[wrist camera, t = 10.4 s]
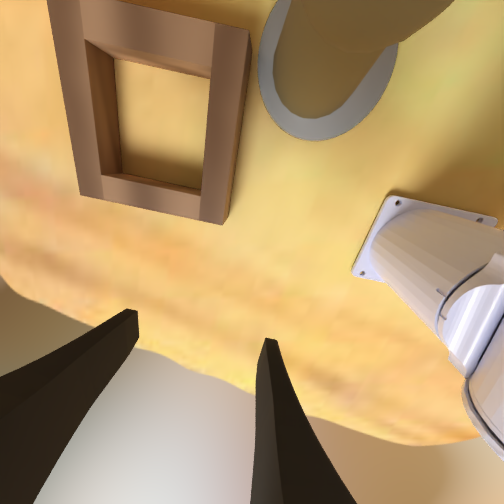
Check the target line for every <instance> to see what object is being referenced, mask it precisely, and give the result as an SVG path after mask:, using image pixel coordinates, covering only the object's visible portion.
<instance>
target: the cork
mask: <svg viewBox="0 0 504 504" xmlns="http://www.w3.org/2000/svg"><path fill="white" fill-rule="evenodd" d="M453 1H454V0H291V4H290V7H289V10H288V13H287V16H286V19H285V22H284V25H283V28H282V31H281V34H280V37H279V40H278V44H277V47H276V50H275V53H274V59H273V72H272V74H273V79H274V85H275V90H276V92H277V94H278V96H279V98H280V100H281V102H282V104H283V105H284V106H285V107H286V108H287V109H288V110H289V111H290V112H291V113H293V114H295V115H297V116H299V117H301V118H307V119H318V118H321V117H324V116H327V115H330V114H331V113H333V112H334V111H336V110H337V109H338V108H340V107H341V106H342V105H343V104H344V103H345V102H346V101H347V99H348V98H349V97H350V96H351V95H352V94H353V92H354V91H355V89H356V88H357V87H358V85H359V84H360V83H361V81H362V80H363V78H364V77H365V76H366V74H367V73H368V72H369V70H370V69H371V67H372V66H373V65H374V63H375V62H376V61H377V59H378V58H379V56H380V55H381V54H382V52H383V51H384V50H385V48H386V47H388V46H390V45H393V44H396V43H399V42H401V41H404V40H405V39H407V38H408V37H410V36H411V35H412V34H414V33H415V32H416V31H418V30H419V29H421V28H422V27H423V26H425V25H426V24H427V23H429V22H430V21H432V20H433V19H434V18H435V17H437V16H438V15H439V14H440V13H441V12H443V11H444V10H445V9H446V8H447V7H449V6H450V5H451V3H452V2H453Z"/></svg>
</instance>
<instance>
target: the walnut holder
mask: <svg viewBox="0 0 504 504" xmlns="http://www.w3.org/2000/svg"><path fill="white" fill-rule="evenodd" d="M47 5H48V11H49V17H50V22H51V28H52V34H53V40H54V46H55V51H56V57H57V63H58V69H59V74H60V80H61V86H62V92H63V98H64V103H65V109H66V115H67V121H68V126H69V132H70V138H71V144H72V150H73V155H74V161H75V167H76V173H77V178H78V184H79V190H80V195H82V196H87V197H92V198H96V199H101V200H106V201H110V202H115V203H120V204H124V205H129V206H134V207H138V208H143V209H148V210H152V211H157V212H162V213H166V214H171V215H176V216H180V217H185V218H190V219H194V220H199V221H204V222H209V223H213V224H218V225H223V224H224V222H225V221H226V220H227V218H228V213H229V207H230V200H231V193H232V186H233V180H234V173H235V166H236V159H237V152H238V146H239V139H240V132H241V125H242V119H243V112H244V105H245V98H246V92H247V85H248V78H249V71H250V64H251V58H252V46H251V40H250V33H249V30H246V29H241V28H237V27H233V26H228V25H224V24H219V23H215V22H210V21H206V20H201V19H197V18H193V17H188V16H184V15H179V14H175V13H170V12H166V11H161V10H157V9H153V8H148V7H144V6H139V5H135V4H130V3H126V2H122V1H117V0H47ZM113 58H117V59H122V60H126V61H131V62H135V63H140V64H144V65H149V66H153V67H158V68H162V69H167V70H171V71H176V72H180V73H185V74H189V75H194V76H198V77H203V78H207V79H210V91H209V103H208V115H207V127H206V139H205V151H204V163H203V175H202V187H201V190H199V189H194V188H189V187H185V186H180V185H175V184H171V183H166V182H162V181H157V180H152V179H148V178H143V177H138V176H134V175H129V174H124V173H122V163H121V150H120V138H119V125H118V113H117V100H116V88H115V75H114V63H113Z"/></svg>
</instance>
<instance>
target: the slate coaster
mask: <svg viewBox="0 0 504 504" xmlns="http://www.w3.org/2000/svg"><path fill="white" fill-rule="evenodd" d="M290 4H291V0H278V1H277V2H276V4H275V6H274V8H273V9H272V11H271V13H270V15H269V18H268V20H267V22H266V25H265V27H264V31H263V34H262V37H261V42H260V47H259V54H258V80H259V87H260V92H261V96H262V99H263V102H264V105H265V107H266V109H267V111H268V113H269V115H270V116H271V118H272V119H273V121H274V122H275V123H276V124H277V125H278V126H279V127H280V128H281V129H282V130H283V131H285V132H286V133H287V134H289V135H291V136H293V137H295V138H298V139H301V140H306V141H322V140H327V139H331V138H334V137H337V136H339V135H341V134H343V133H345V132H347V131H349V130H350V129H352V128H353V127H355V126H356V125H357V124H358V123H360V122H361V121H362V120H363V119H364V118H365V117H366V116H367V115H368V114H369V113H370V111H371V110H372V109H373V108H374V107H375V105H376V104H377V102H378V101H379V99H380V98H381V96H382V94H383V93H384V91H385V89H386V87H387V85H388V82H389V80H390V78H391V75H392V72H393V69H394V65H395V61H396V56H397V49H398V43H396V44H393V45H390V46H388V47H386V48H385V50H384V51H383V52H382V54H381V55H380V56H379V58H378V59H377V61H376V62H375V63H374V65H373V66H372V67H371V69H370V70H369V72H368V73H367V74H366V76H365V77H364V78H363V80H362V81H361V83H360V84H359V85H358V87H357V88H356V89H355V91H354V92H353V94H352V95H351V96H350V97H349V98H348V99H347V101H346V102H345V103H344V104H343V105H342V106H341V107H340V108H338V109H337V110H336V111H334V112H333V113H331V114H330V115H327V116H324V117H321V118H318V119H307V118H301V117H299V116H297V115H295V114H293V113H291V112H290V111H289V110H288V109H287V108H286V107H285V106H284V105H283V104H282V102H281V100H280V98H279V96H278V94H277V92H276V90H275V85H274V79H273V74H272V72H273V59H274V53H275V50H276V47H277V44H278V40H279V37H280V34H281V31H282V28H283V25H284V22H285V19H286V16H287V13H288V10H289V7H290Z"/></svg>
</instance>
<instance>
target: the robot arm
mask: <svg viewBox="0 0 504 504" xmlns="http://www.w3.org/2000/svg"><path fill="white" fill-rule="evenodd" d="M397 200H399V203H398V204H397V205H395V203H396V201H397ZM478 218H479V220H478V221H477V219H478ZM476 221H477V222H476ZM497 223H498V219H497V218H495V217H492V216H487V215H483V214H478V213H473V212H469V211H464V210H460V209H455V208H451V207H446V206H441V205H437V204H432V203H428V202H423V201H418V200H414V199H409V198H405V197H400V196H395V195H390V196H388V197H387V198H386V199H385V200H384V203H383V205H382V207H381V209H380V211H379V213H378V215H377V217H376V219H375V221H374V223H373V226H372V228H371V230H370V232H369V234H368V236H367V238H366V240H365V242H364V244H363V246H362V249H361V251H360V253H359V255H358V257H357V259H356V261H355V263H354V265H353V267H352V269H351V273H352V274H353V276H356V277H361V278H365V279H370V280H375V281H379V282H384V283H387V284H388V286H389V287H390V288H391V289H392V290H393V291H394V292H395V293H396V294H397V295H398V296H399V297H400V298H401V299H402V300H403V301H404V302H405V303H406V304H407V305H408V307H409V308H410V309H411V310H412V311H413V312H414V313H415V314H416V315H417V316H418V317H419V318H420V319H421V320H422V321H423V322H424V323H425V324H426V325H427V326H428V328H429V329H430V330H431V331H432V332H433V333H434V334H435V335H436V336H437V337H438V338H439V339H440V340H441V341H442V342H443V343H444V344H445V345H446V347H447V348H448V350H449V358H448V360H449V361H450V362H451V363H452V364H453V365H454V366H455V368H456V369H457V370H458V371H459V372H460V373H461V374H462V375H463V376H464V378H465V380H464V383H463V385H462V390H461V396H462V401H463V405H464V408H465V410H466V413H467V415H468V417H469V418H470V420H471V422H472V424H473V425H474V427H475V428H476V430H477V431H478V432H479V434H480V435H481V436H482V438H483V439H484V440H485V442H486V443H487V444H488V445H489V446H490V447H491V448H492V450H493V451H494V452H495V453H496V454H497V455H498V456H499V457H500V458H501V459H502V460H503V461H504V230H501V229H498V228H494V227H495V226H496V224H497ZM362 271H364V272H363V273H362V274H360V272H362ZM138 338H139V326H138V311H136V310H131V309H125V310H123V311H122V312H120V313H118V314H117V315H115V316H113V317H112V318H110V319H109V320H107V321H105V322H104V323H102V324H100V325H99V326H97V327H95V328H94V329H92V330H90V331H89V332H87V333H85V334H84V335H82V336H80V337H79V338H77V339H75V340H73V341H71V342H70V343H68V344H66V345H64V346H62V347H61V348H59V349H57V350H55V351H53V352H51V353H50V354H48V355H46V356H44V357H42V358H40V359H38V360H36V361H33V362H32V363H29V364H27V365H26V366H23V367H21V368H19V369H17V370H15V371H13V372H10V373H8V374H6V375H3V376H1V377H0V504H33V503H34V501H35V499H36V497H37V495H38V494H39V492H40V490H41V488H42V487H43V485H44V483H45V481H46V480H47V478H48V476H49V475H50V473H51V471H52V469H53V468H54V466H55V464H56V462H57V460H58V459H59V457H60V456H61V454H62V452H63V451H64V449H65V447H66V446H67V444H68V442H69V441H70V439H71V438H72V436H73V434H74V432H75V431H76V429H77V428H78V426H79V425H80V423H81V421H82V420H83V418H84V417H85V415H86V414H87V412H88V410H89V408H91V406H92V405H93V403H94V402H95V400H96V399H97V398H98V396H99V395H100V394H101V392H102V391H103V389H104V388H105V387H106V385H107V384H108V383H109V381H110V380H111V379H112V377H113V376H114V375H115V373H116V372H117V371H118V369H119V368H120V367H121V365H122V364H123V362H124V361H125V360H126V358H127V357H128V355H129V354H130V352H131V350H132V349H133V347H134V345H135V344H136V342H137V340H138ZM255 435H256V436H255V452H254V466H253V478H252V490H251V501H250V504H357V503H356V501H355V500H354V498H353V497H352V495H351V494H350V492H349V491H348V489H347V487H346V486H345V484H344V483H343V481H342V480H341V478H340V476H339V475H338V473H337V472H336V470H335V468H334V467H333V465H332V463H331V461H330V460H329V458H328V456H327V455H326V453H325V451H324V449H323V448H322V446H321V444H320V442H319V441H318V439H317V437H316V435H315V433H314V431H313V429H312V427H311V425H310V423H309V421H308V420H307V417H306V415H305V413H304V411H303V409H302V407H301V405H300V403H299V400H298V398H297V396H296V393H295V391H294V389H293V386H292V384H291V381H290V378H289V376H288V373H287V371H286V368H285V365H284V362H283V359H282V356H281V352H280V349H279V345H278V342H277V340H274V339H270V338H265V341H264V344H263V347H262V350H261V353H260V356H259V359H258V364H257V374H256V433H255Z"/></svg>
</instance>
